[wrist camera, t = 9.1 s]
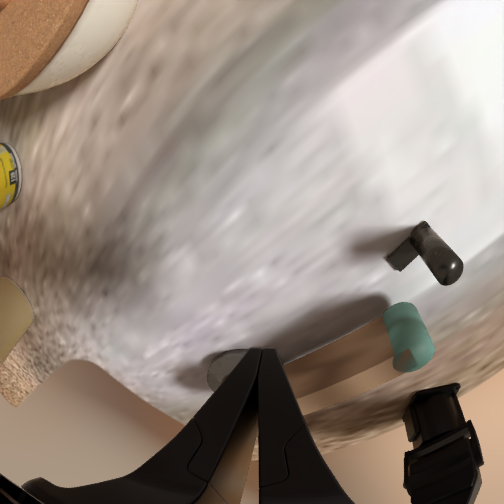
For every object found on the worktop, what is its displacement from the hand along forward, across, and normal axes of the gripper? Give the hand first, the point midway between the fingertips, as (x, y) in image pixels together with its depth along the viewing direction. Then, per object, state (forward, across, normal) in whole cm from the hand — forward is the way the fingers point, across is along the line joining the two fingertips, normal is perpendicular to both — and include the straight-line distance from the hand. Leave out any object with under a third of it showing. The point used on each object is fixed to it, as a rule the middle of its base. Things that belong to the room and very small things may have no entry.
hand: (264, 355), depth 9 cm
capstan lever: (+10, -2, +12) cm, 16 cm away
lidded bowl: (+12, +12, -18) cm, 25 cm away
